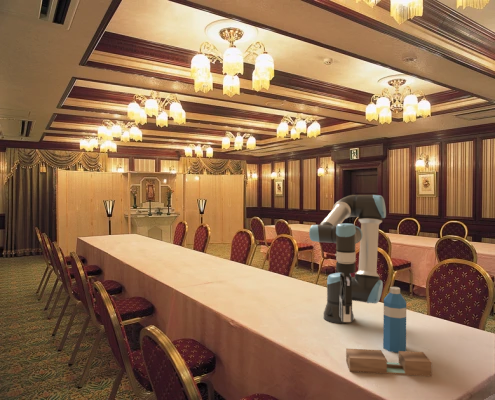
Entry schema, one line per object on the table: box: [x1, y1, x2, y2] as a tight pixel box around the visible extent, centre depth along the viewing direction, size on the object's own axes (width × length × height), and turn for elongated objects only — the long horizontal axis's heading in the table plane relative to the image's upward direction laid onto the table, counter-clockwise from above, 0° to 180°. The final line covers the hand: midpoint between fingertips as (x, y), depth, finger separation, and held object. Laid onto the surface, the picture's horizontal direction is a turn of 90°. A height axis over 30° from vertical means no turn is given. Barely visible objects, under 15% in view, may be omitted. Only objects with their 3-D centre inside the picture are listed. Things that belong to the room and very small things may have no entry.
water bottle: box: [382, 286, 407, 354], centre depth 150 cm, size 9×9×25 cm
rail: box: [345, 348, 433, 377], centre depth 132 cm, size 8×28×5 cm, turn 84°
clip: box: [339, 295, 353, 323], centre depth 147 cm, size 6×4×9 cm, turn 174°
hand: (345, 318), depth 147 cm, fingers closed on clip, 6 cm apart
